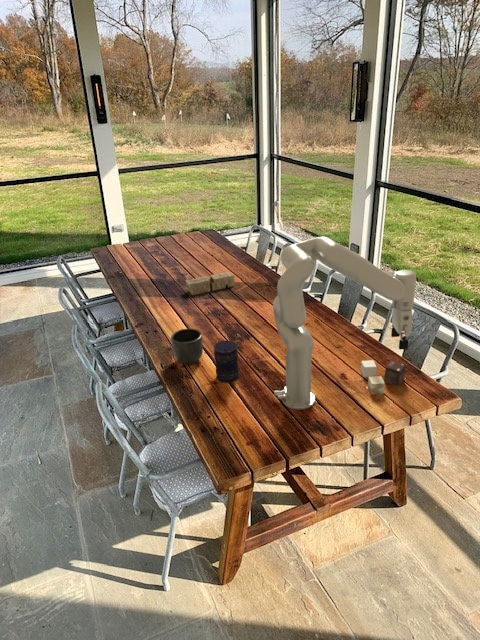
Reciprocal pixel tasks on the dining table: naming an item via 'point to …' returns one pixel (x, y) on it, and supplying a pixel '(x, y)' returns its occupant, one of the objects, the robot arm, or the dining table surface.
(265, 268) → the dining table surface
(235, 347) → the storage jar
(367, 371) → the grey block
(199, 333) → the planter
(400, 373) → the box
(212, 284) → the tan double block
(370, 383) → the birch block
